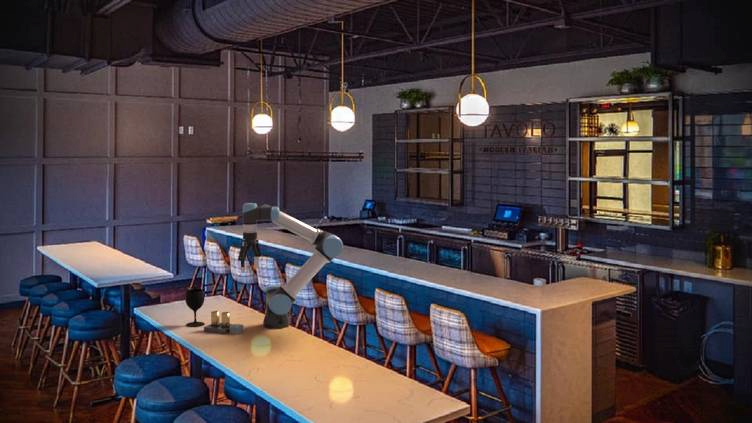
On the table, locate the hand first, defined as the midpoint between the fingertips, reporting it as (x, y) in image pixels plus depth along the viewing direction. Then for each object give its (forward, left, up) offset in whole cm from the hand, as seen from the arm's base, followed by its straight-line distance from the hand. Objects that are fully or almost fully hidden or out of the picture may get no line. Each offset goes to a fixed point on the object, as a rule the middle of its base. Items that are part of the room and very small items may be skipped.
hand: (250, 270), depth 343 cm
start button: (+2, -7, -32) cm, 33 cm away
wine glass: (-3, -38, -35) cm, 52 cm away
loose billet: (+1, -22, -35) cm, 41 cm away
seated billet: (+1, -15, -35) cm, 38 cm away
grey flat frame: (+1, -19, -35) cm, 39 cm away
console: (+2, -8, -35) cm, 36 cm away
